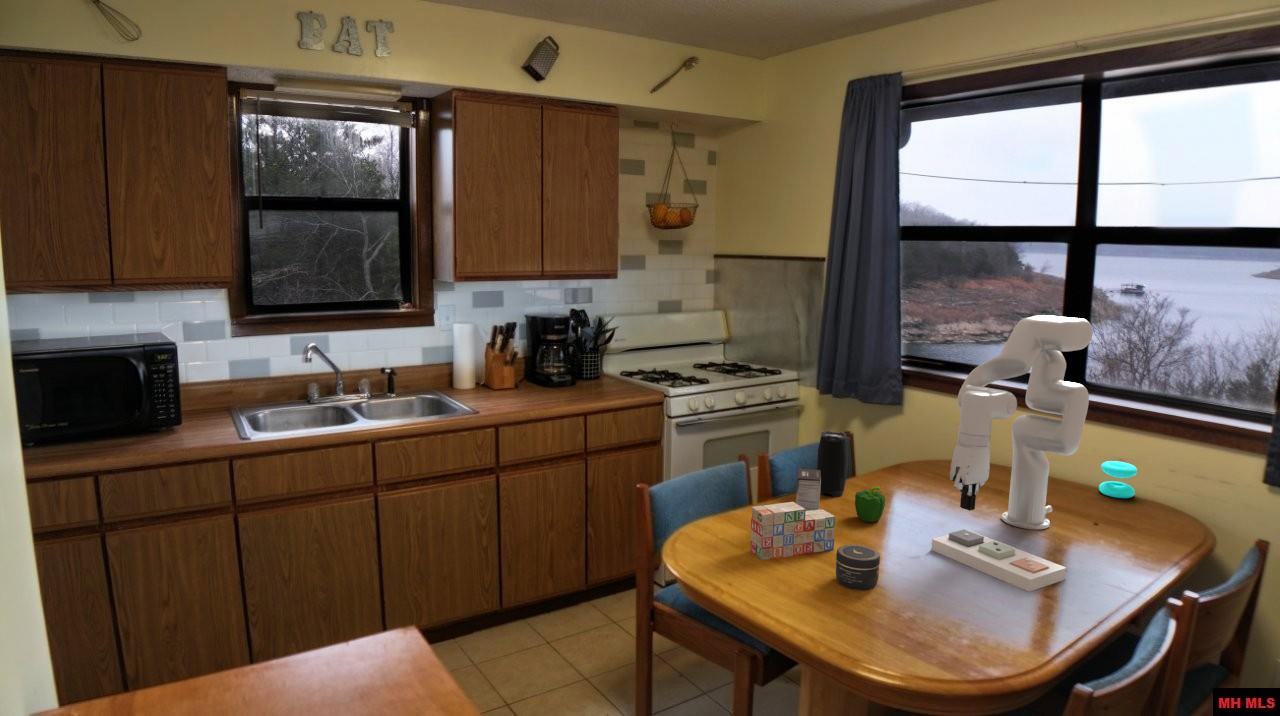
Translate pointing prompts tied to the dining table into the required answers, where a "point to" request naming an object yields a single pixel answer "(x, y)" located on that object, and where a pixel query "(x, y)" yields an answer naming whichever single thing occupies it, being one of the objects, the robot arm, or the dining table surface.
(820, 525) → the stack of blocks
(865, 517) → the bell pepper
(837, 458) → the portable speaker
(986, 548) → the tile two
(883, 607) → the dining table surface
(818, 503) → the coffee box
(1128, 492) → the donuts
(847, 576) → the jar
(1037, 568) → the tile three
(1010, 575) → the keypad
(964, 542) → the tile one
